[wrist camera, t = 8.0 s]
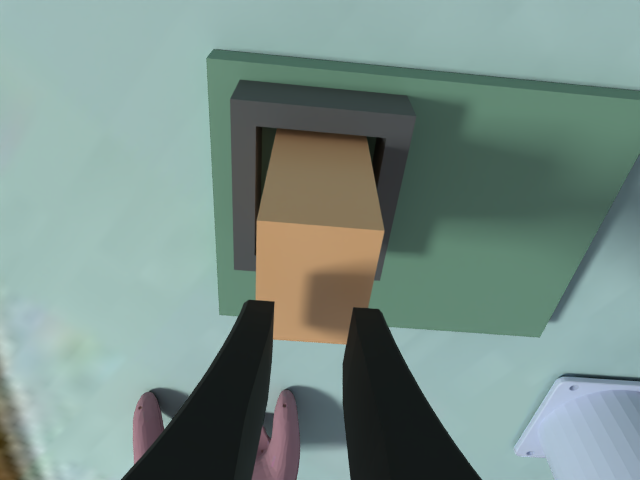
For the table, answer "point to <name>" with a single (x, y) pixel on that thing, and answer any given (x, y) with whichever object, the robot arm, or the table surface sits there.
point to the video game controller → (273, 453)
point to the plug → (317, 234)
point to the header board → (432, 180)
